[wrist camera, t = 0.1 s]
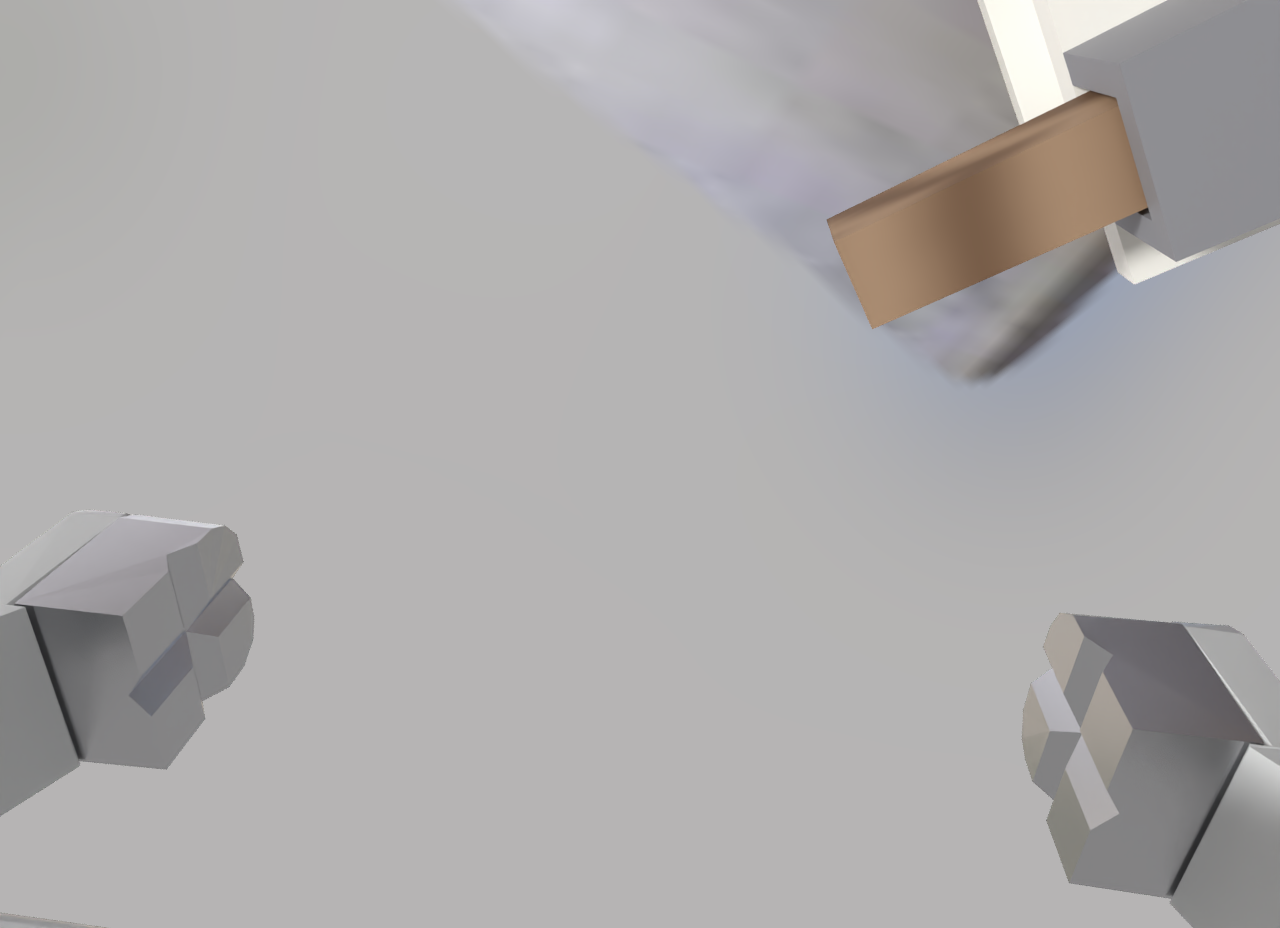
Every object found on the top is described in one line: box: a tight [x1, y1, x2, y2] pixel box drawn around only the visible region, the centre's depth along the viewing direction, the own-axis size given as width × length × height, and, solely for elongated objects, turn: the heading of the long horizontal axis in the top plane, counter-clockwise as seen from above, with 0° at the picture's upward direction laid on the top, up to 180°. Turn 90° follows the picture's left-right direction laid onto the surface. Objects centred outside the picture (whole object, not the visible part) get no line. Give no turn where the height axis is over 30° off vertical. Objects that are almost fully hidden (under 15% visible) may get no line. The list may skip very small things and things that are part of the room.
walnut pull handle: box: [827, 90, 1148, 329], centre depth 25 cm, size 20×3×3 cm, turn 118°
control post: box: [977, 0, 1280, 284], centre depth 34 cm, size 15×10×30 cm, turn 118°
